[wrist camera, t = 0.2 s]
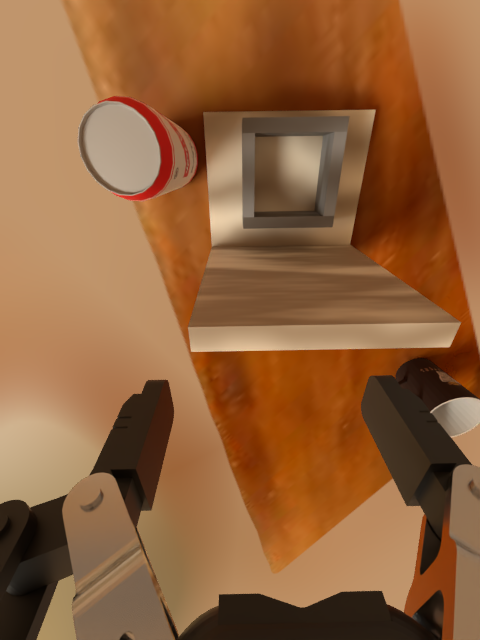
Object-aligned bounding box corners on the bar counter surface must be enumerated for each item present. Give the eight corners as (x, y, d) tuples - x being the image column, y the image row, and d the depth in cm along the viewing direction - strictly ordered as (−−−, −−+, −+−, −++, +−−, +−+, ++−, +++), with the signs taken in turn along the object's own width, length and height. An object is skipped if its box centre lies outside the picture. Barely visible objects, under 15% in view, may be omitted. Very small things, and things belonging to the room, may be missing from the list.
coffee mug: (449, 369, 47) (497, 415, 39) (407, 397, 51) (442, 445, 42) (412, 334, 43) (455, 377, 35) (368, 367, 47) (398, 413, 38)
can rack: (344, 257, 37) (449, 347, 19) (213, 259, 37) (191, 351, 19) (371, 111, 29) (600, 20, 11) (204, 113, 29) (149, 26, 11)
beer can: (182, 112, 29) (132, 64, 15) (209, 173, 32) (187, 180, 18) (133, 141, 30) (44, 120, 16) (163, 197, 33) (110, 220, 19)
